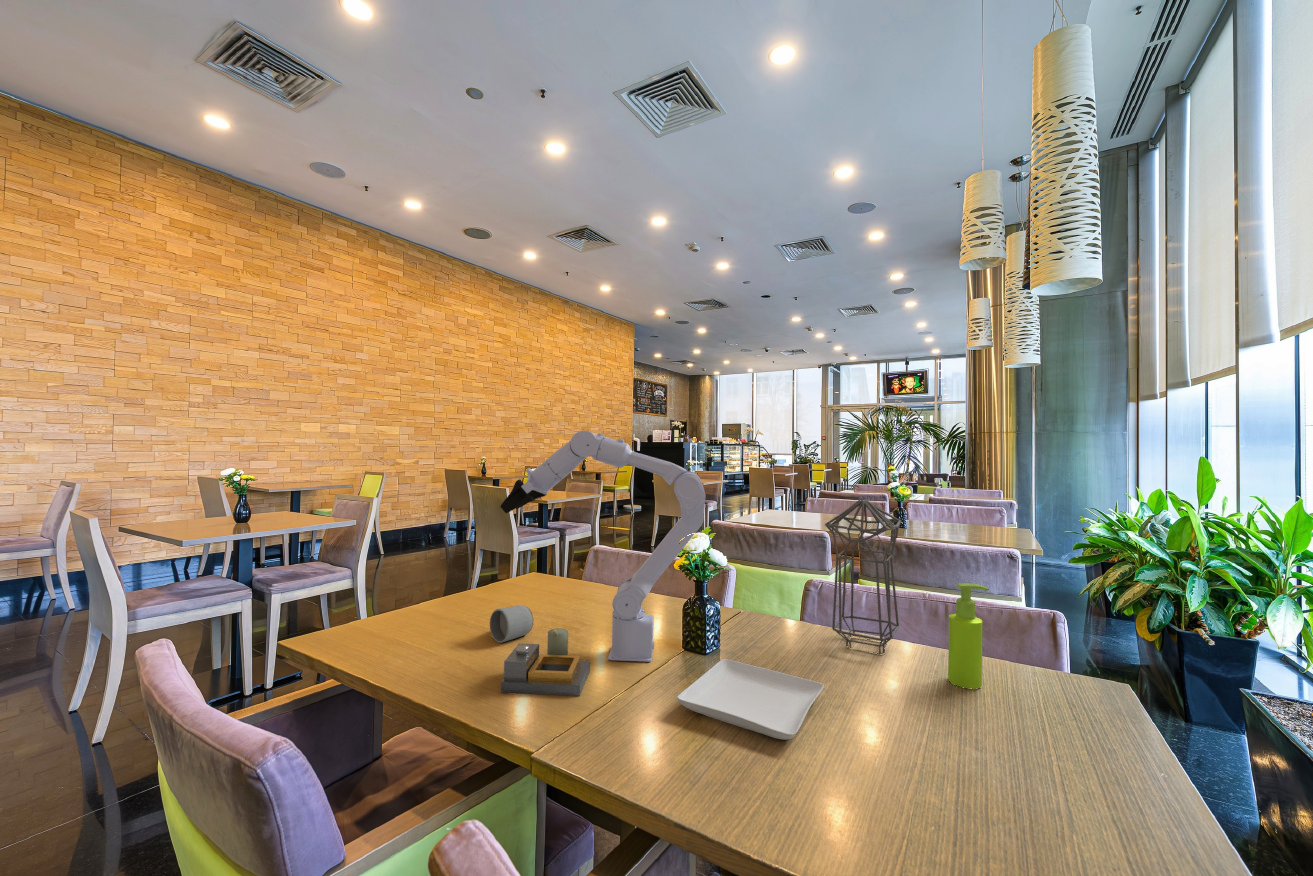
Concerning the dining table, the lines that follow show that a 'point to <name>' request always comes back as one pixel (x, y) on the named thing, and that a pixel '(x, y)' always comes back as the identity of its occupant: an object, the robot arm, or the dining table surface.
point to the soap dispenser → (965, 641)
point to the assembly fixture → (543, 672)
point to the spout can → (557, 642)
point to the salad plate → (752, 698)
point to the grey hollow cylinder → (511, 623)
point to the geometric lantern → (894, 529)
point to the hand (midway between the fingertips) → (509, 507)
